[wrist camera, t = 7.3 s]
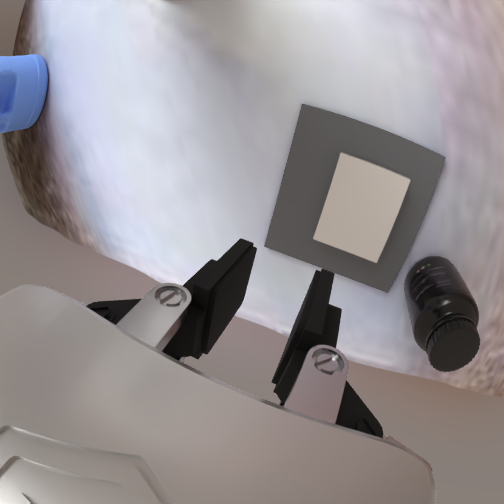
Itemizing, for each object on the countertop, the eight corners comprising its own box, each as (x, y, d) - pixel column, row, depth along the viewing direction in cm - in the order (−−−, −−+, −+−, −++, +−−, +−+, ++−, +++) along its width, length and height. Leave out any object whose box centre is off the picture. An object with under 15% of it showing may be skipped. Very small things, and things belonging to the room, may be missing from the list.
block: (340, 152, 24) (410, 179, 23) (341, 151, 26) (407, 177, 24) (312, 239, 28) (376, 263, 27) (315, 233, 30) (375, 256, 28)
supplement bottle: (464, 288, 26) (496, 357, 16) (418, 315, 30) (431, 391, 20) (443, 241, 26) (480, 303, 15) (393, 273, 29) (404, 346, 19)
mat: (303, 104, 25) (302, 103, 25) (443, 156, 22) (445, 157, 22) (265, 244, 33) (264, 246, 32) (387, 289, 30) (387, 292, 29)
